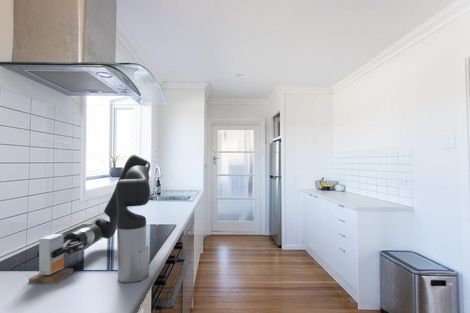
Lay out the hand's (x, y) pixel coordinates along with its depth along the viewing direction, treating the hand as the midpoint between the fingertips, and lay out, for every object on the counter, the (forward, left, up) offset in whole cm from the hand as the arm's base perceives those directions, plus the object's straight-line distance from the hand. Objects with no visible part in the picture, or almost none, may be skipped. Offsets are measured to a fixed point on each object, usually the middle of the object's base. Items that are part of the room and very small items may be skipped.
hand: (45, 254), depth 92 cm
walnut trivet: (0, -3, -8) cm, 9 cm away
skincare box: (0, -3, -7) cm, 7 cm away
